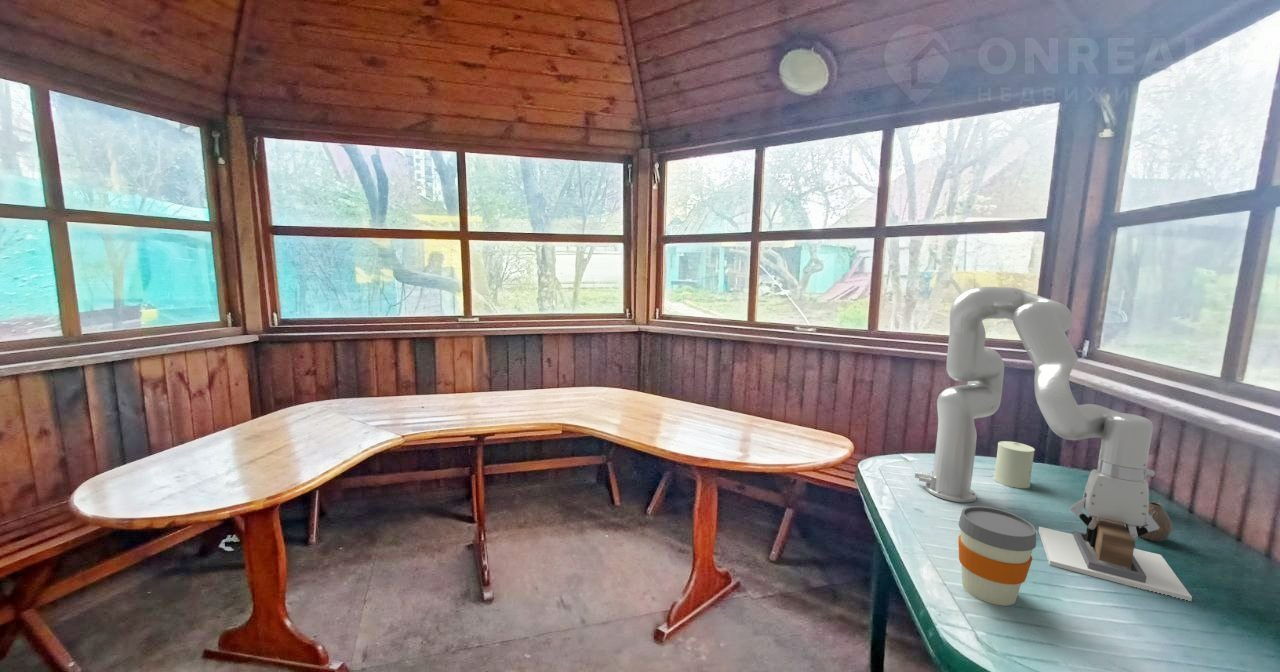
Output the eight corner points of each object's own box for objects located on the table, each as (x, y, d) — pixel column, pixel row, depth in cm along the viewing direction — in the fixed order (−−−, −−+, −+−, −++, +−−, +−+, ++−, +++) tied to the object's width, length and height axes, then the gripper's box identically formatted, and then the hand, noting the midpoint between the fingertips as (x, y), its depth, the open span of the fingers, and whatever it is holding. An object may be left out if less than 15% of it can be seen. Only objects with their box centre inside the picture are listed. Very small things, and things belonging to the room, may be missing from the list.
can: (1028, 480, 157) (1033, 443, 155) (1031, 491, 149) (1037, 452, 148) (992, 473, 162) (997, 437, 160) (994, 483, 154) (998, 445, 153)
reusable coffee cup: (956, 564, 110) (964, 499, 108) (1028, 589, 102) (1038, 519, 100) (946, 592, 100) (955, 521, 98) (1025, 621, 93) (1037, 545, 91)
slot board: (1049, 564, 111) (1051, 554, 111) (1038, 530, 126) (1039, 520, 126) (1191, 601, 100) (1193, 590, 99) (1160, 558, 115) (1161, 548, 114)
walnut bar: (1086, 535, 119) (1090, 511, 118) (1115, 542, 116) (1119, 517, 115) (1099, 560, 109) (1103, 534, 108) (1130, 567, 106) (1135, 541, 105)
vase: (1177, 546, 120) (1183, 512, 119) (1143, 542, 122) (1149, 508, 121) (1154, 532, 127) (1160, 499, 126) (1122, 528, 128) (1128, 495, 127)
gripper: (1168, 474, 109) (1154, 552, 111) (1067, 456, 118) (1056, 529, 120) (1182, 486, 102) (1166, 569, 105) (1073, 466, 111) (1061, 544, 114)
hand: (1107, 547), depth 113 cm, fingers closed on walnut bar, 4 cm apart
